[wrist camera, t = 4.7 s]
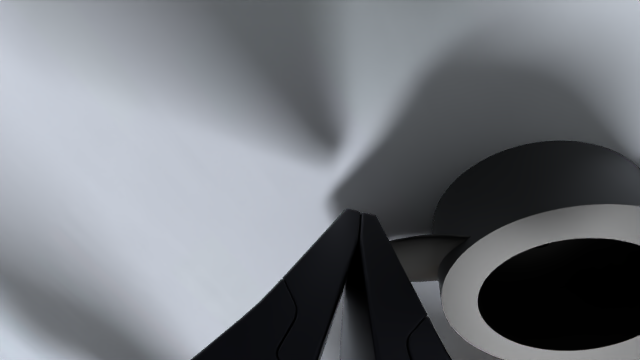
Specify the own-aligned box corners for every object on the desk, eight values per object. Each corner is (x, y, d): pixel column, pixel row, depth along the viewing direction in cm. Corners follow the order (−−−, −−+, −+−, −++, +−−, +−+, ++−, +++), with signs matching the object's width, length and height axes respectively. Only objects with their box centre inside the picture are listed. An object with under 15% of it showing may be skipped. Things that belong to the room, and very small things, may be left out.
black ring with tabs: (435, 42, 8) (451, 79, 6) (824, 177, 8) (999, 269, 6) (339, 250, 13) (325, 320, 10) (591, 337, 13) (636, 426, 10)
